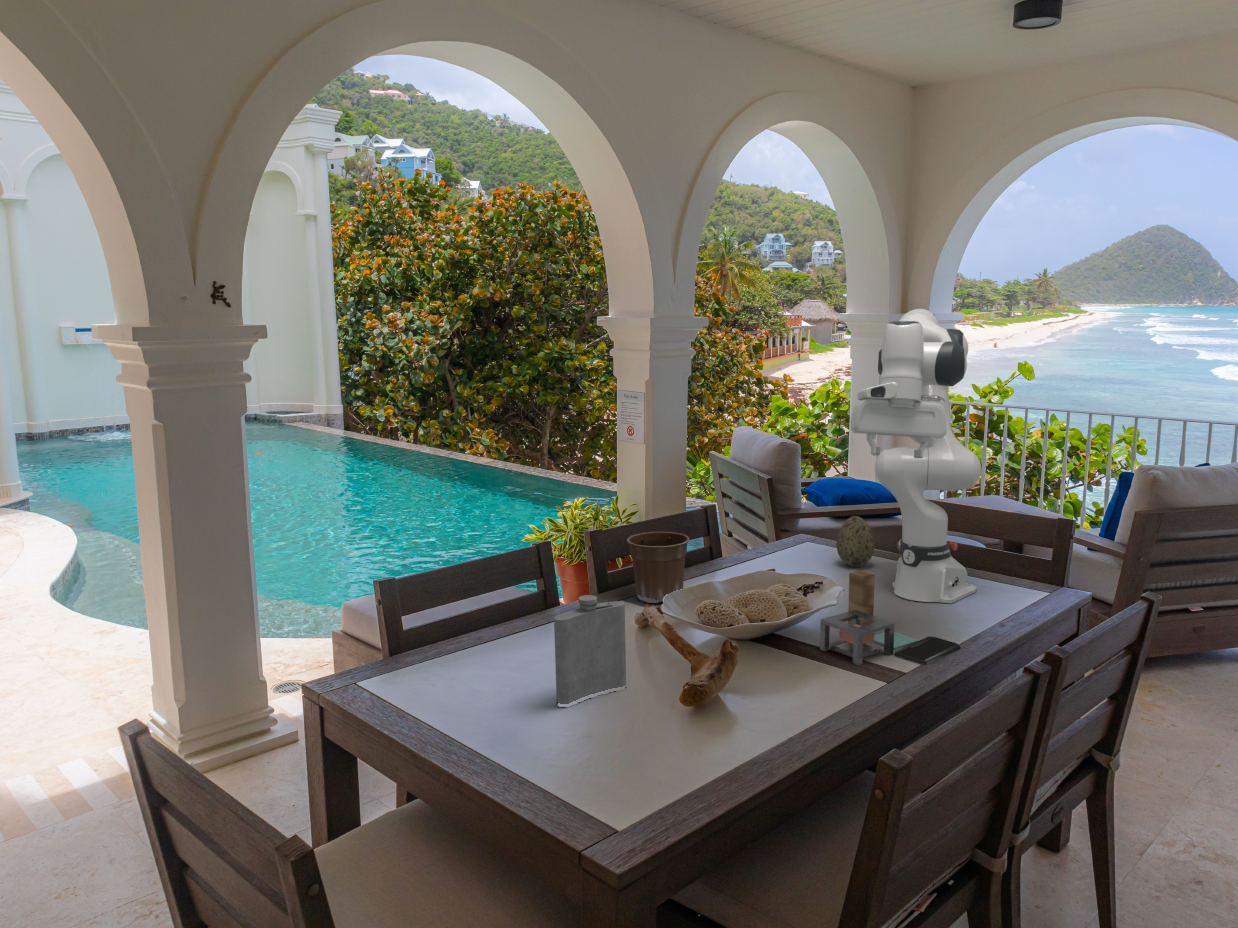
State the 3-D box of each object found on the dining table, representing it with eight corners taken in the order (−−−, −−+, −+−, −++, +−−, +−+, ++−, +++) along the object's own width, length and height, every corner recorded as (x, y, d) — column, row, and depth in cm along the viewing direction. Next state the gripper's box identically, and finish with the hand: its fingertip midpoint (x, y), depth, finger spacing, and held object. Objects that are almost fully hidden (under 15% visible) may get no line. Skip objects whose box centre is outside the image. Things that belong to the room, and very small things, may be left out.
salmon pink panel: (856, 633, 196) (856, 624, 195) (874, 640, 191) (874, 630, 191) (839, 638, 193) (839, 628, 193) (857, 645, 189) (857, 635, 188)
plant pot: (616, 601, 230) (615, 541, 228) (647, 585, 244) (646, 528, 241) (671, 611, 222) (670, 549, 219) (700, 593, 235) (699, 535, 233)
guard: (855, 639, 200) (855, 609, 199) (893, 653, 191) (894, 623, 190) (819, 649, 194) (820, 618, 193) (857, 665, 185) (858, 633, 184)
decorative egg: (833, 561, 265) (834, 512, 262) (870, 561, 263) (871, 512, 261) (838, 571, 254) (840, 520, 252) (877, 571, 253) (878, 520, 251)
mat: (890, 632, 204) (890, 630, 204) (918, 642, 197) (918, 640, 197) (866, 639, 200) (866, 637, 200) (894, 649, 193) (894, 647, 193)
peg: (859, 626, 208) (861, 569, 206) (873, 631, 205) (874, 573, 202) (847, 630, 206) (849, 572, 204) (860, 635, 202) (862, 576, 200)
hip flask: (562, 709, 166) (559, 608, 163) (551, 702, 170) (547, 603, 167) (629, 687, 176) (627, 591, 173) (617, 681, 179) (615, 586, 176)
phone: (962, 644, 194) (925, 662, 184) (962, 649, 194) (924, 667, 184) (929, 635, 200) (892, 651, 190) (929, 640, 200) (891, 656, 190)
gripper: (942, 398, 195) (938, 460, 195) (850, 392, 195) (846, 454, 194) (953, 395, 189) (949, 459, 188) (858, 388, 189) (855, 452, 188)
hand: (896, 456), depth 191 cm, fingers open, 8 cm apart
